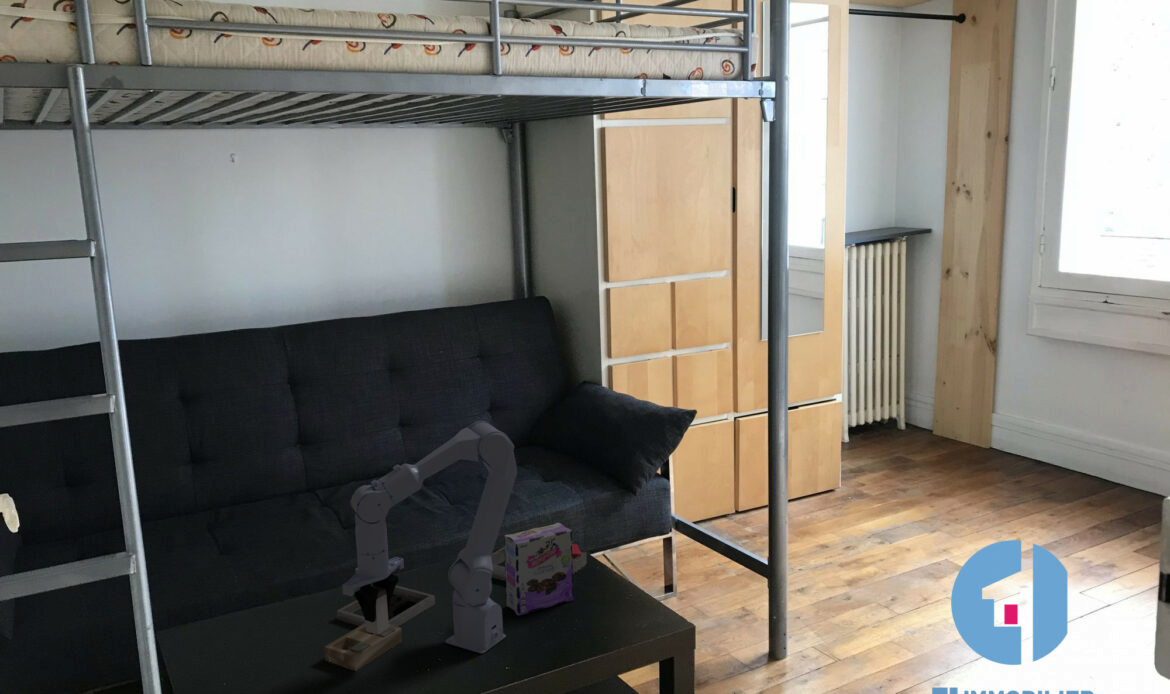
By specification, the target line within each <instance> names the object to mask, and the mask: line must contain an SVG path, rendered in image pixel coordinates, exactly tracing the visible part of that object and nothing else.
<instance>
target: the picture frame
mask: <svg viewBox="0 0 1170 694" xmlns="http://www.w3.org/2000/svg"><path fill="white" fill-rule="evenodd" d="M392 596H403V597H409V598H413V599H416V600H417V601H419V603H417V604H415V605H414V606H412V607H410V608H409V609H407V608H406V609H405V610H403V611H402V612H401V613H398V614H396V615H395V616H394V618H392V619H390V620H388V624H390V625H393V626H396V627H400V626H401V625H403V624H405V623H407V622H408V621H410V620H412V619H413V618H415V617H416V616H418V615H420V614H422V613H423V612H425V611H426V610H428V609H429V608H431V607H432V606H434V605H436V601H435V595H433V594H430V593H425V592H423V591H419V590H416V589H411V588H407V587H404V586H400V585H398V584H396V586H395V589H394V591H393V594H392ZM359 609H360V610H362V609H361V607H360V605H359V603H358V601H357V599H355V600H353V601H352V602H351V603H348V604H347V605H345V606H343V607H341V608H339V609H337V610H336V620H337V619H339V620H338V621H340V620H342V621H341V622H343V621H344V622H343V623H346V622H348V623H347V624H350V623H351V624H350V625H353V624H354V625H353V626H356V625H357V627H359V626H361V625H363V624H364V623H366V622H365V618H364V615H359V614H356V612H358V611H360V610H359ZM357 610H358V611H357ZM424 610H425V611H424Z"/></svg>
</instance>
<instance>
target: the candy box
mask: <svg viewBox="0 0 1170 694" xmlns="http://www.w3.org/2000/svg"><path fill="white" fill-rule="evenodd" d="M535 528H536V529H533V528H531V529H532V530H530V529H528V530H523V531H519V532H515V533H511V534H504V537H503V538H504V546H505V561H504V562H505V563H504V565H505V566H504V567H505V570H506V571H505V572H506V581H505V591H506V592H505V597H506V598H505V599H506V601H505V602H506V606H507V607H508V608H509V609H510V610H511V611H512V612H513V613H514V614H515V615H517V616H523V615H526V614H530V613H532V612H537V611H540V610H543V609H548V608H550V607H551V608H552V607H554V606H558V605H562V604H566V603H569V602H572V601H574V599H575V598H574V595H575V594H574V574H573V562H572V544H573V536H572V535H573V534H572V533H573V531H572V529H570V528H568V527H566V526H565V525H564V524H562V523H560V522H555V523H553V524H550V525H546V526H542V527H535Z"/></svg>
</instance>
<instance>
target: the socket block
mask: <svg viewBox="0 0 1170 694" xmlns="http://www.w3.org/2000/svg"><path fill="white" fill-rule="evenodd" d="M399 643H400V644H401V643H403V632H402V627H400V626H398V627H396V626H393V625H390V624H389V628H388V629H386V630H385V631H383V632H381V633H380V634H374V633H371V632H368V631H366V623H364V624H363V625H361V626H357V627H356V628H355V629H352V630H350V631H349V632H347V633H346V634H343V636H340V637H339V638H336V639H335V640H333V641H332V642H330V643H328V644H327V645H324V647H323V649H324V658H325V659H324V660H325V662H327V661H329V662H328V663H330V662H332V663H331V664H333V663H335V664H337V665H336V666H338V665H340V666H339V667H341V666H342V667H341V668H344V667H345V669H348V670H350V671H353V670H354V672H358V671H359V670H361V669H362V668H363V667H365V666H367V665H368V664H370V663H371V662H373V661H374V659H375V658H376V659H378V658H379V657H381V656H383V655H384V654H386V653H387V652H389V651H390V650H392V649H393V648H395V647H397V646H398V645H399ZM397 644H398V645H397ZM396 645H397V646H396ZM394 646H395V647H394ZM391 648H392V649H391ZM389 649H390V650H389ZM388 650H389V651H388ZM386 651H387V652H386ZM385 652H386V653H385ZM383 653H384V654H383ZM380 655H381V656H380ZM377 657H378V658H377ZM376 659H375V660H376ZM372 660H373V661H372ZM369 662H370V663H369ZM335 664H334V665H335ZM366 664H367V665H366ZM364 665H365V666H364ZM361 667H362V668H361ZM358 669H359V670H358Z"/></svg>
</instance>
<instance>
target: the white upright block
mask: <svg viewBox="0 0 1170 694" xmlns="http://www.w3.org/2000/svg"><path fill="white" fill-rule="evenodd" d="M372 587H373V588H374V589H378V590H379V593H378V596H377V601H376V619H375V621H374V622H370V621H367V620H365V622H366V631H368V632H371V633H374V634H380V633H381V632H383V631H385V630H386V629H388V628H389V624H388V609H387V594H386V589H385V588H381V587H377V586H373V585H372Z"/></svg>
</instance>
